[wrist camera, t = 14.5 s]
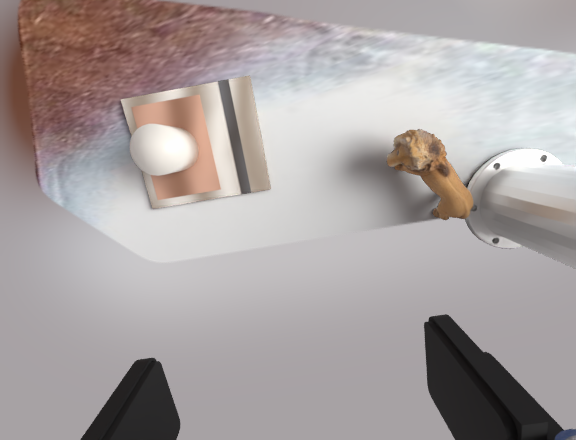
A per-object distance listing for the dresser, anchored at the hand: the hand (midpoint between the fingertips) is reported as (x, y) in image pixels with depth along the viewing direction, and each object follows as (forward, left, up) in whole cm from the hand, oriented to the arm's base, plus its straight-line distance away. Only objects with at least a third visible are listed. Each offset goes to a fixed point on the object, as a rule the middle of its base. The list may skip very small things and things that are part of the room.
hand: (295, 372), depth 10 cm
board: (+10, -9, -28) cm, 31 cm away
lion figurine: (-16, -1, -29) cm, 33 cm away
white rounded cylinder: (+12, -9, -27) cm, 31 cm away
